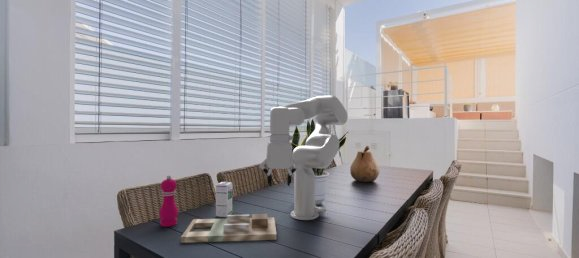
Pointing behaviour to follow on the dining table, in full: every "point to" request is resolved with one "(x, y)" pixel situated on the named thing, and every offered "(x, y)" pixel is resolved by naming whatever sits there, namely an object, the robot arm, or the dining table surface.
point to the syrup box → (224, 199)
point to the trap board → (228, 230)
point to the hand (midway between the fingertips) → (279, 184)
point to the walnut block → (259, 221)
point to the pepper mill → (168, 203)
